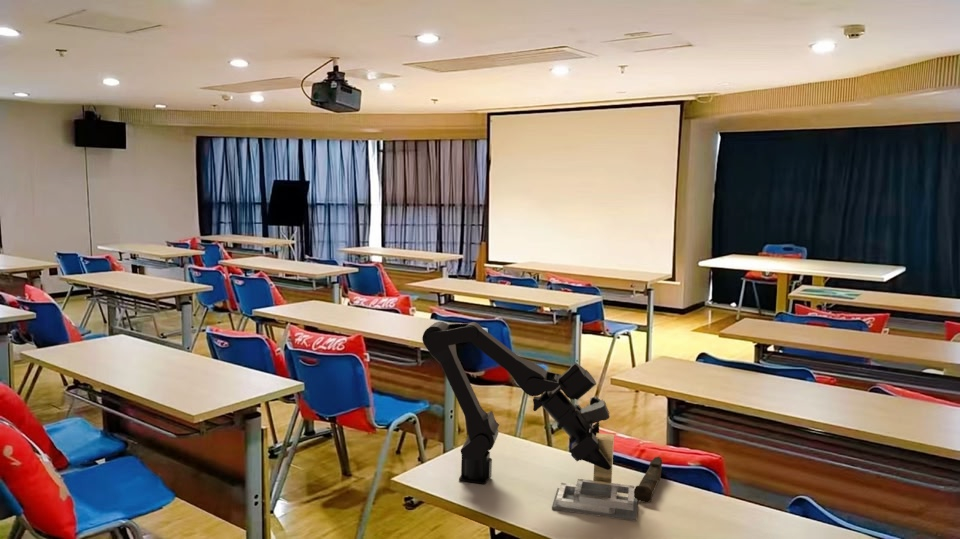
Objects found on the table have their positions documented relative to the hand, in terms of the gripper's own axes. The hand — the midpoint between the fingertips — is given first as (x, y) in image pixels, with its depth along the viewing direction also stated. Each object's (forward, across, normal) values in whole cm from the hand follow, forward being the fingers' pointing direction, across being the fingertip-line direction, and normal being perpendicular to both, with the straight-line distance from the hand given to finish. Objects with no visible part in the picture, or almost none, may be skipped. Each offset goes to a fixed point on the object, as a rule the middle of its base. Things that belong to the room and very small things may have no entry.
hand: (609, 461), depth 154 cm
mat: (+3, -8, +7) cm, 11 cm away
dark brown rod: (+12, +5, -1) cm, 13 cm away
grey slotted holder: (+3, -8, +7) cm, 11 cm away
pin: (+4, 0, +6) cm, 7 cm away
